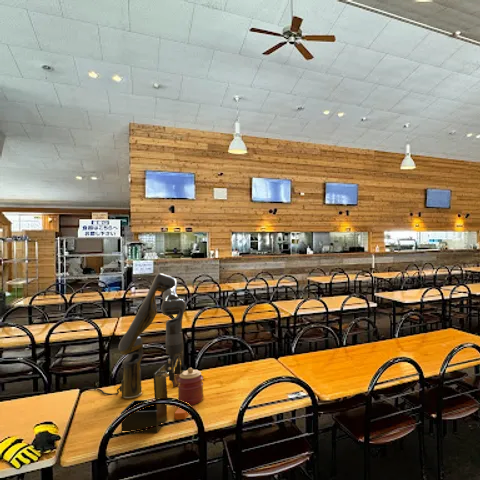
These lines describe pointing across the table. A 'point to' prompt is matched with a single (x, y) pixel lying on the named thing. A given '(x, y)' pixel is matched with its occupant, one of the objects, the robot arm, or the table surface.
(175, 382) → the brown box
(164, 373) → the bin lid
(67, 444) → the table surface
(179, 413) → the block
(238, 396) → the table surface
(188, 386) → the kitchen canister
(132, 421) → the trash bin
